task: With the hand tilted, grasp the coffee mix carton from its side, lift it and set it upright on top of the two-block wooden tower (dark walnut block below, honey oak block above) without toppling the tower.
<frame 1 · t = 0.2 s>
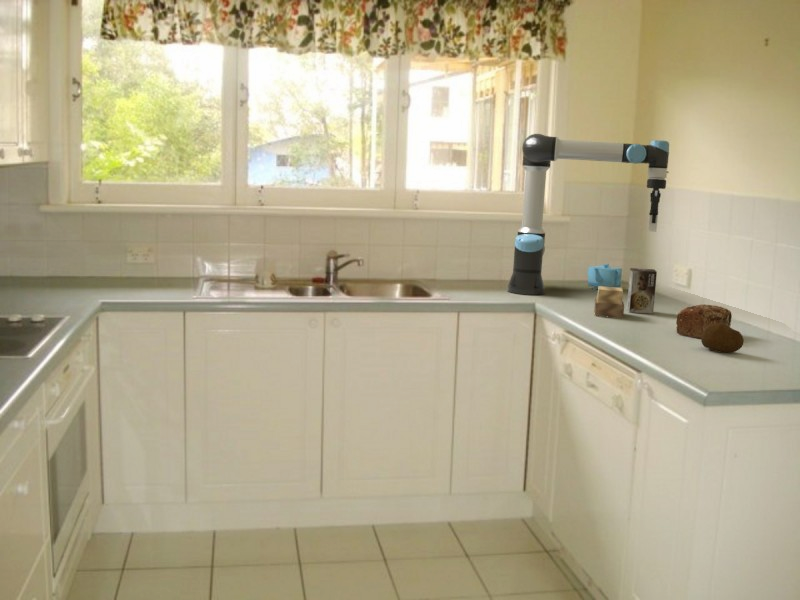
hand: (652, 230, 367), 28 cm above the worktop, tool pointing down, fingers open, 13 cm apart
coffee box: (639, 312, 334), on the worktop
teapot: (602, 290, 386), on the worktop
potato: (718, 352, 271), on the worktop
bread: (702, 335, 297), on the worktop
tower base: (608, 315, 325), on the worktop
tower top: (609, 302, 324), point 5 cm above the worktop
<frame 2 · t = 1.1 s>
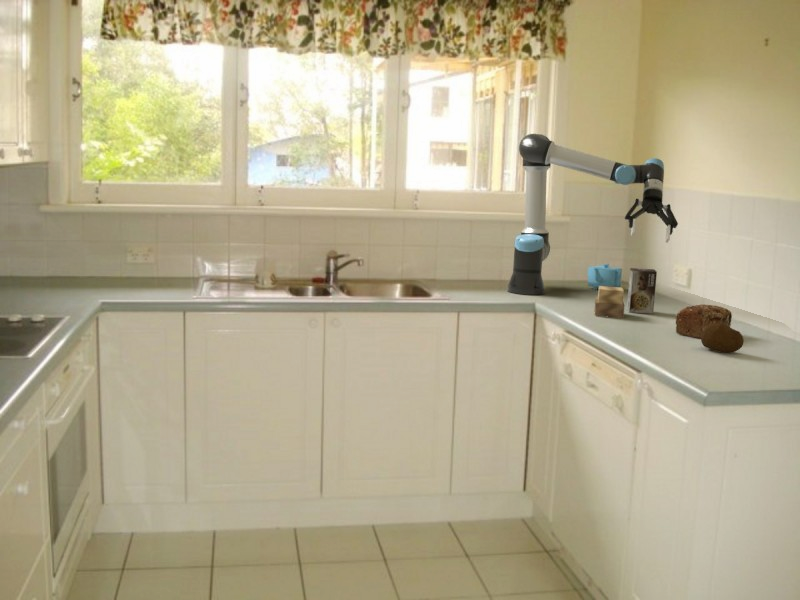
hand: (650, 237, 343), 27 cm above the worktop, tool tilted 40°, fingers open, 13 cm apart
nothing on the worktop moved.
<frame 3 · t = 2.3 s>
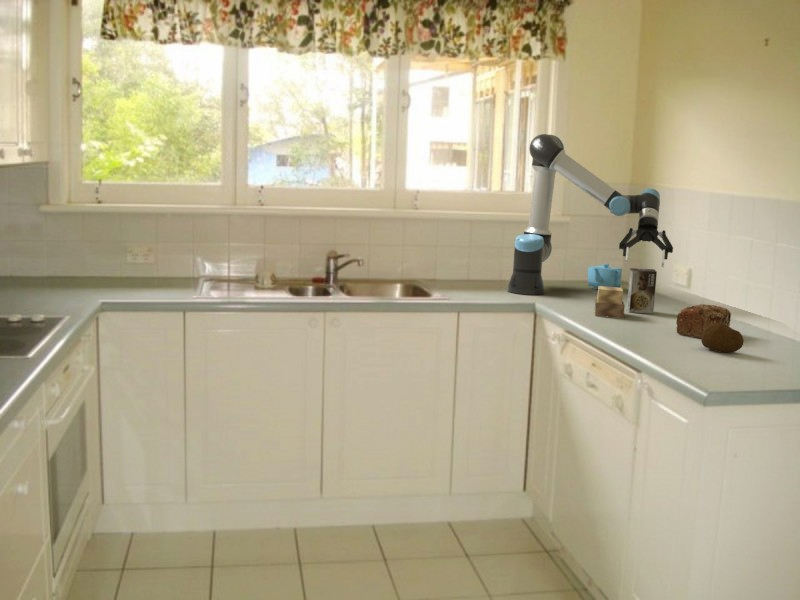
hand: (644, 263, 341), 17 cm above the worktop, tool tilted 45°, fingers open, 13 cm apart
tower base: (608, 315, 325), on the worktop, touching tower top
tower top: (609, 302, 324), point 5 cm above the worktop, touching tower base
everything else where it was.
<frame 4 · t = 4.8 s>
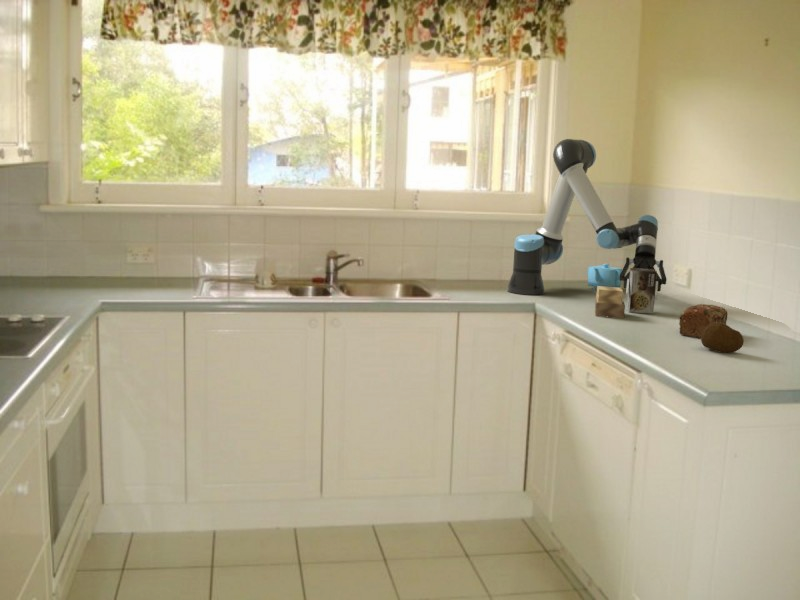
hand: (641, 296, 330), 6 cm above the worktop, tool tilted 45°, fingers closed on coffee box, 10 cm apart
coffee box: (639, 312, 334), on the worktop, touching gripper
when the fingers open (18 cm above the worktop, at t = 9.7 s): coffee box drops 1 cm, point 10 cm above the worktop.
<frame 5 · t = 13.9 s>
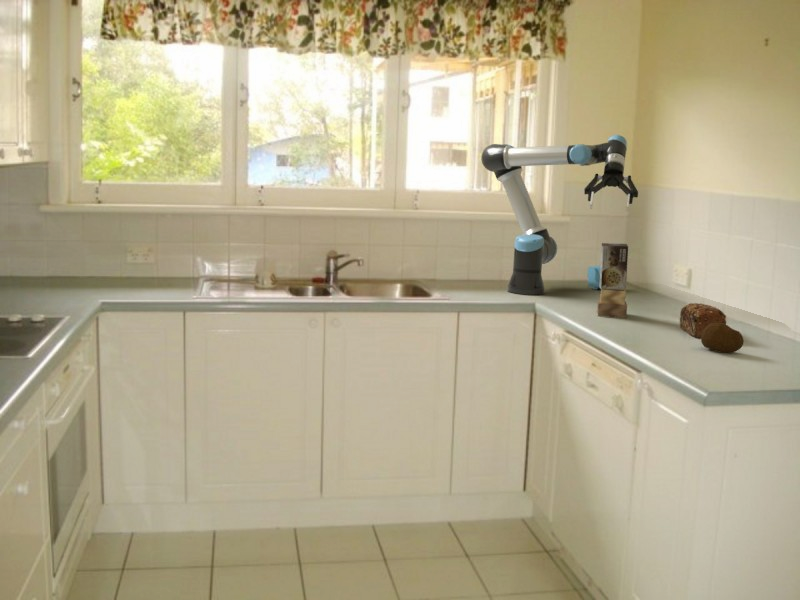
hand: (609, 207, 339), 38 cm above the worktop, tool tilted 45°, fingers open, 13 cm apart
coffee box: (612, 288, 323), point 10 cm above the worktop
tower top: (612, 302, 324), point 5 cm above the worktop, touching tower base
at the end: coffee box inside the target area on the tower top (0.5 cm from its centre), point 5.0 cm above the tower top's base; coffee box tilted 3°; tower top moved 1.1 cm from its start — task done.
